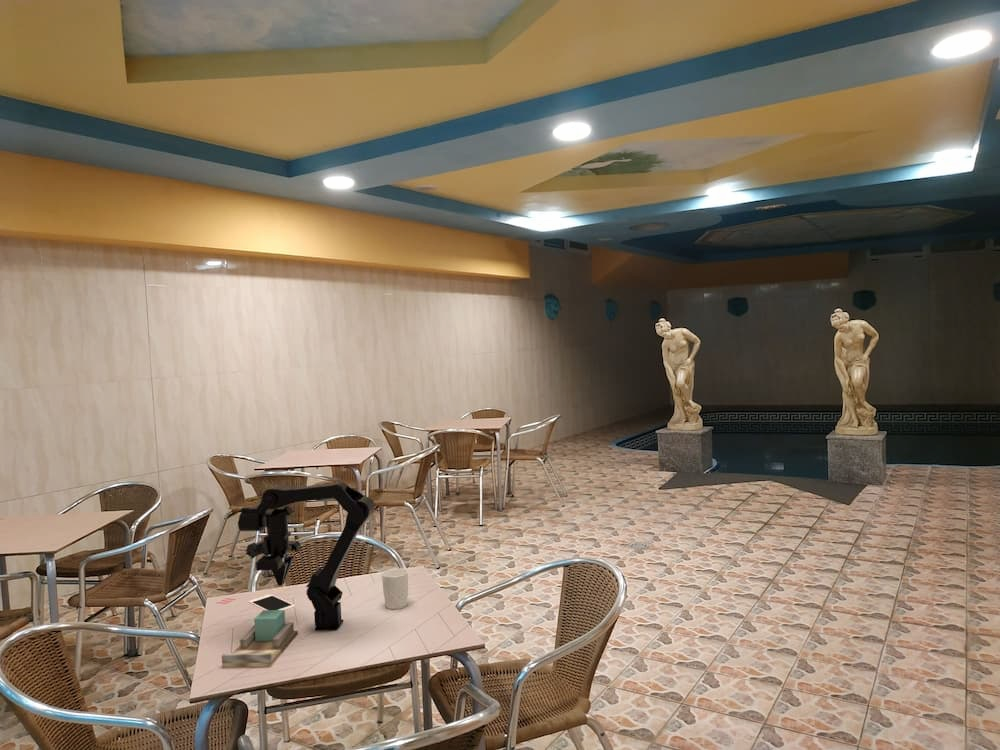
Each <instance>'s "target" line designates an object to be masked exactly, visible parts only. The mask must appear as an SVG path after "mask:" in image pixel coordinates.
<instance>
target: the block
mask: <svg viewBox="0 0 1000 750" xmlns="http://www.w3.org/2000/svg"><path fill="white" fill-rule="evenodd" d="M285 611H286V610H263V609H262V611H261V612H259V614H258V615H257V616H256V617H255V618H254V619H253V621H254V622H253V623H254V626H255V640H256V641H272V639H273V638H274V637H275V636H276V634H277V633H278V632H279V631H280V630H281V629H282V628H283V627H284V626H285V625H286V613H285Z"/></svg>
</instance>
